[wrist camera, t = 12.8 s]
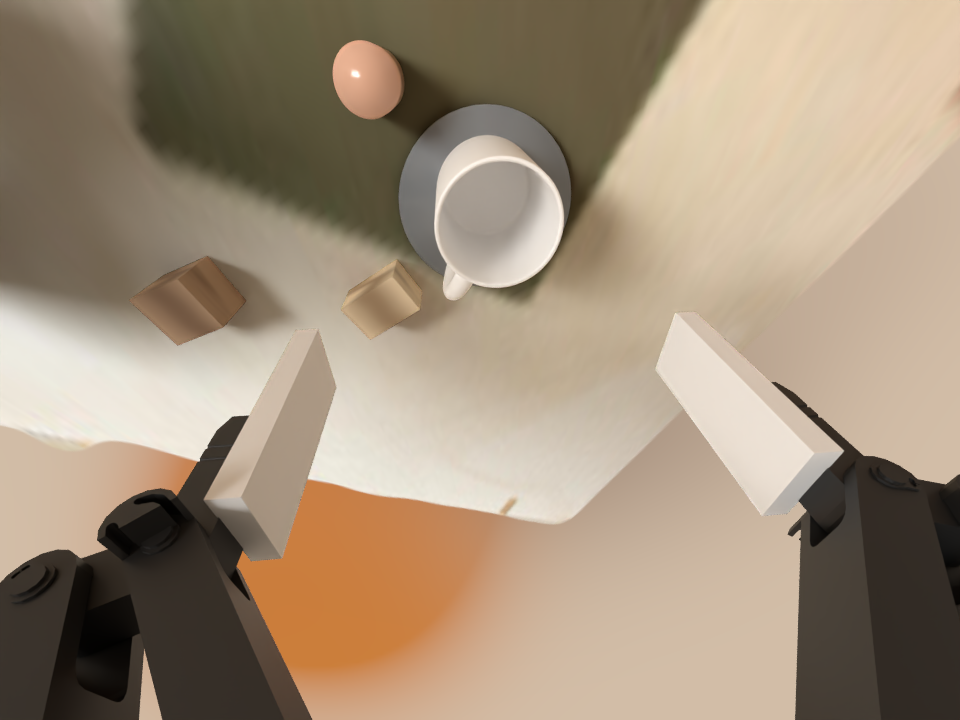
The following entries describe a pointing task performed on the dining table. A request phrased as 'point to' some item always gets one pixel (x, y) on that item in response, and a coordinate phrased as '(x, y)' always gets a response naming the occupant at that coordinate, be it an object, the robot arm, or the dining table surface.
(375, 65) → the peach egg shape
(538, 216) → the mug
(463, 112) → the gray plate
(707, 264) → the dining table surface
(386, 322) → the beech block
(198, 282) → the walnut block
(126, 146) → the dining table surface
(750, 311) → the dining table surface
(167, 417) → the dining table surface
